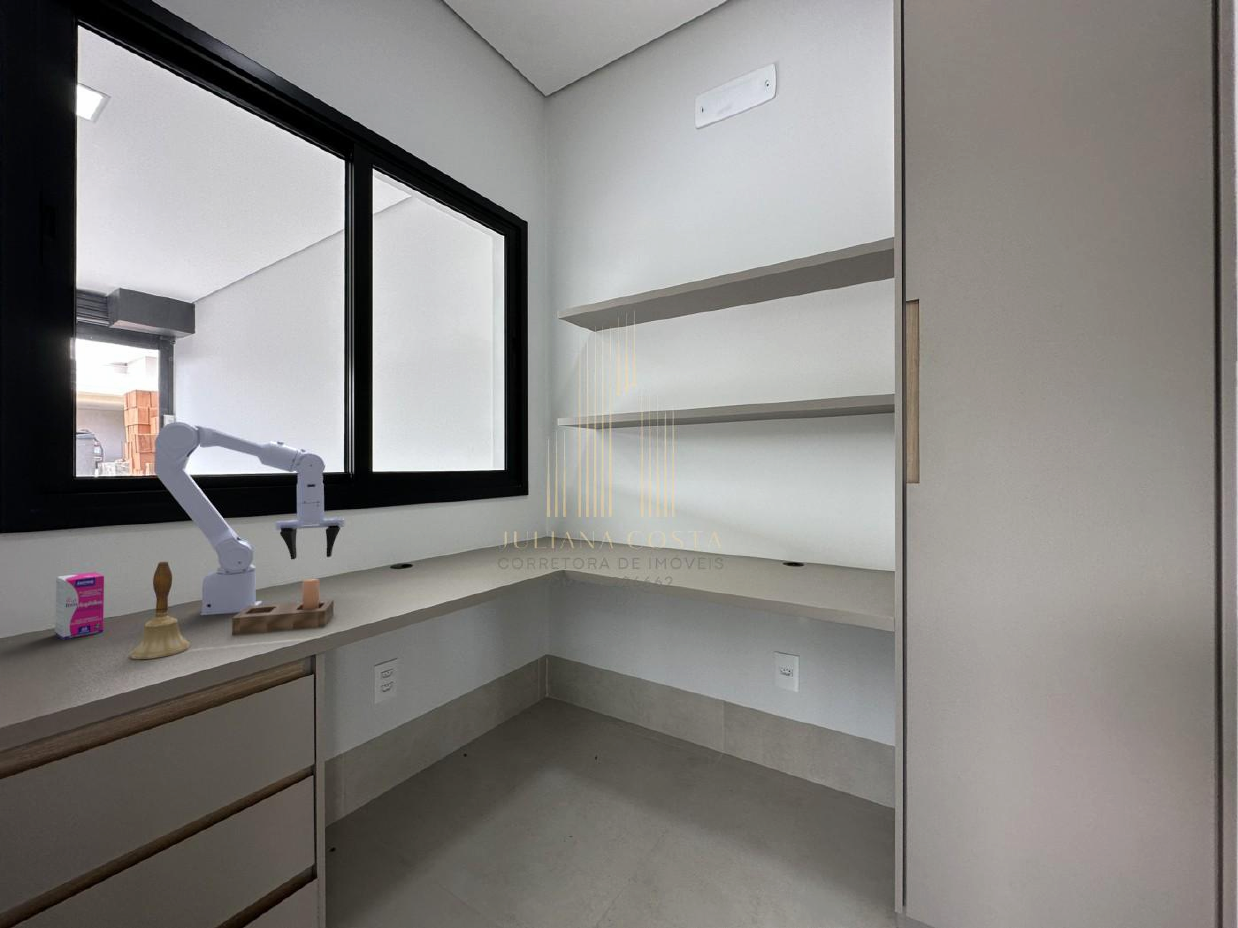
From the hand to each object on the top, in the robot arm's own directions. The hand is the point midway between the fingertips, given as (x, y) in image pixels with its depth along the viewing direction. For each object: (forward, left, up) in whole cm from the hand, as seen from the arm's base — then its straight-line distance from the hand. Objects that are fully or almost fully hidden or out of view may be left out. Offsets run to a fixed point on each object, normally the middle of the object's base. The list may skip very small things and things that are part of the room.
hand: (311, 557), depth 128 cm
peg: (+4, -21, -10) cm, 24 cm away
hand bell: (-17, -31, -11) cm, 37 cm away
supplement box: (-37, -14, -11) cm, 41 cm away
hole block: (0, -21, -10) cm, 23 cm away
